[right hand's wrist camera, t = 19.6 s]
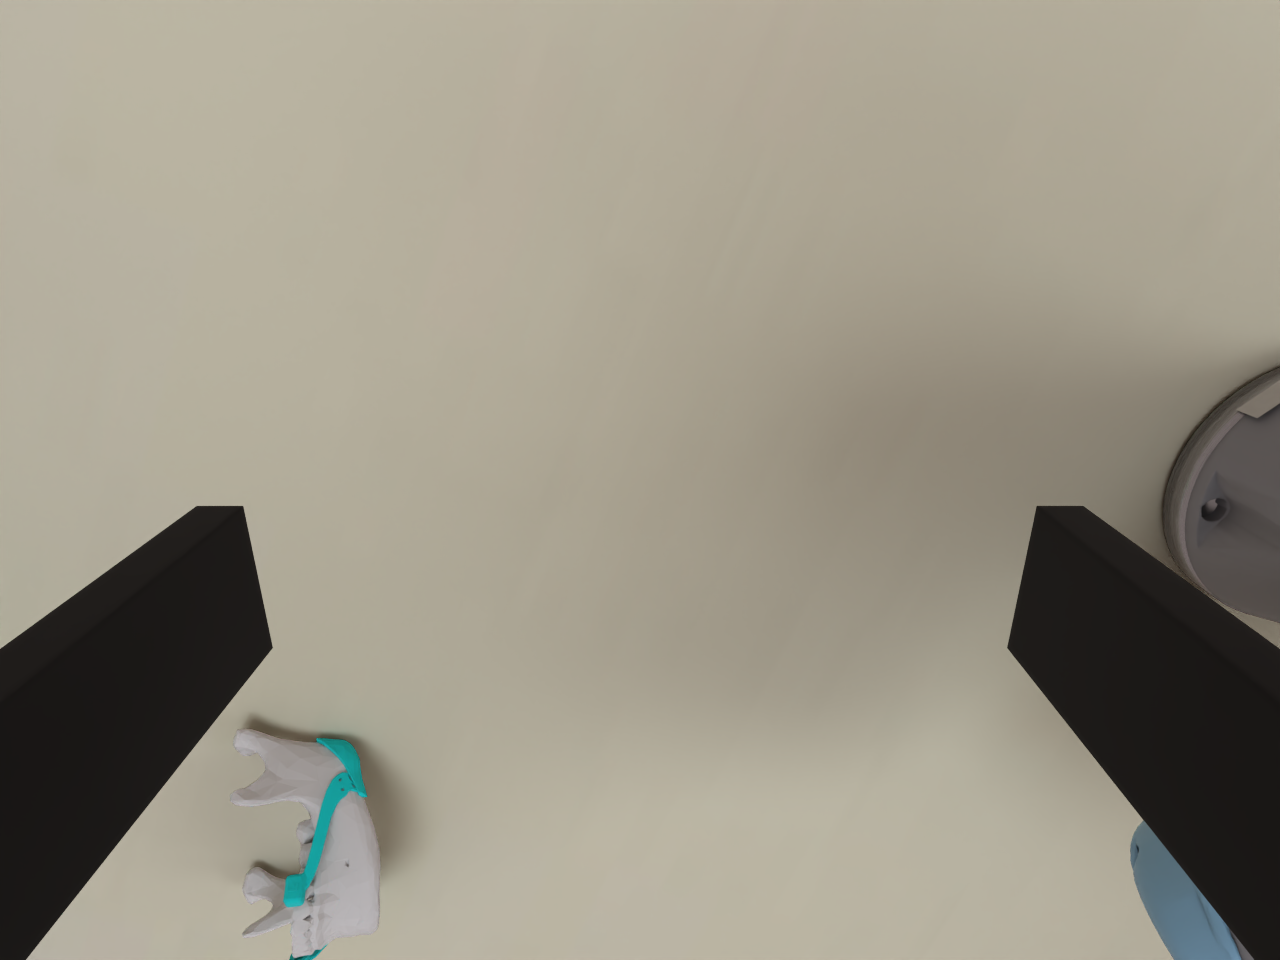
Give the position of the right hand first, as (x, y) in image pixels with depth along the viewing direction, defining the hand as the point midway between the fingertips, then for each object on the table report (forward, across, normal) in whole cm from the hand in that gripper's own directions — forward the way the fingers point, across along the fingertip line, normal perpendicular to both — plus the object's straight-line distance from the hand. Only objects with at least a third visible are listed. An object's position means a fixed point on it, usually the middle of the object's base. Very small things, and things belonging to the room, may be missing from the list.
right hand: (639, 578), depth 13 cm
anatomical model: (+29, -21, -34) cm, 49 cm away
